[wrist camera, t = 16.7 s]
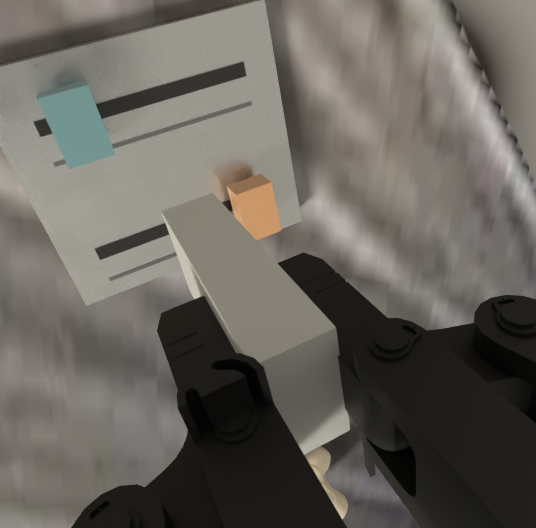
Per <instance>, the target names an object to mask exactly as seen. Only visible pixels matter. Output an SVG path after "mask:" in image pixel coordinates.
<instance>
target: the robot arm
mask: <svg viewBox="0 0 536 528" xmlns="http://www.w3.org/2000/svg"><path fill="white" fill-rule="evenodd" d="M161 213H162V215H163V218H164V221H165V224H166V226H167V229H168V232H169V235H170V237H171V240H172V243H173V246H174V248H175V251H176V254H177V257H178V259H179V262H180V265H181V268H182V270H183V273H184V276H185V279H186V281H187V284H188V287H189V290H190V292H191V294H192V295H193V297H194V300H192V301H189V302H187V303H185V304H182V305H180V306H177V307H175V308H172V309H170V310H168V311H165V312H163V313H161V317H160V321H159V325H158V329H157V332H158V335H159V337H160V340H161V343H162V346H163V348H164V352H165V354H166V357H167V360H168V362H169V366H170V368H171V371H172V374H173V377H174V380H175V383H176V385H177V388H178V393H177V403H178V409H179V412H180V414H181V416H182V418H183V420H184V422H185V424H186V426H187V429H188V433H187V437H186V440H185V443H184V445H183V448H182V449H181V451H180V452H179V454H178V455H177V457H176V459H175V460H174V461H173V462H172V463H171V464H170V465H169V466H168V467H167V468H166V469H165V470H164V471H163V472H162V473H161V474H160V475H158V476H157V477H156V478H155V479H154V480H153V481H152V482H151V483H149V484H148V485H147V486H146V487H142V486H139V485H126V486H119V487H116V488H114V489H112V490H110V491H108V492H106V493H103V494H101V495H100V496H99V497H98V498H97V499H95V500H94V501H93V502H92V503H91V504H90V505H88V506H87V507H86V508H85V509H84V510H83V512H82V513H81V515H80V516H79V517H78V519H77V520H76V522H75V523H74V525H73V526H72V527H71V528H347V527H346V525H345V523H344V522H343V520H342V518H341V516H340V515H339V513H338V511H337V510H336V508H335V506H334V505H333V503H332V501H331V499H330V498H329V496H328V494H327V493H326V491H325V489H324V488H323V486H322V484H321V482H320V481H319V479H318V477H317V476H316V474H315V472H314V471H313V469H312V467H311V466H310V464H309V462H308V460H307V459H306V457H305V454H307V453H308V452H310V451H312V450H314V449H316V448H318V447H320V446H321V445H323V444H325V443H327V442H329V441H331V440H333V439H335V438H336V437H338V436H340V435H342V434H344V433H346V432H348V431H349V430H350V425H349V417H348V413H349V415H350V416H351V417H352V419H353V420H354V421H355V423H356V424H357V425H358V427H359V428H360V429H361V431H362V439H363V448H364V457H365V465H366V468H367V470H368V473H369V475H370V477H372V476H373V475H375V464H376V466H377V467H378V469H379V470H380V471H381V473H382V474H383V476H384V477H385V478H386V480H387V481H388V482H389V484H390V485H391V487H392V488H393V489H394V491H395V492H396V493H397V495H398V496H399V498H400V499H401V500H402V502H403V503H404V505H405V506H406V507H407V509H408V510H409V511H410V513H411V514H412V516H413V517H414V518H415V520H416V521H417V522H418V524H419V525H420V527H421V528H536V299H532V298H529V297H525V296H515V295H504V296H498V297H493V298H490V299H488V300H487V301H485V302H483V303H481V304H480V305H479V307H478V308H477V310H476V311H475V316H474V323H472V324H466V325H461V326H455V327H450V328H445V329H438V330H425V329H424V328H422V327H420V326H419V325H417V324H415V323H413V322H411V321H407V320H403V319H399V318H387V317H386V316H385V315H384V314H382V313H381V312H380V311H379V310H378V309H377V308H376V307H375V306H374V305H372V304H371V303H370V302H369V301H368V300H367V299H366V298H365V297H364V296H362V295H361V294H360V293H359V292H358V291H357V290H356V289H355V288H354V287H352V286H351V285H350V284H349V283H348V282H347V283H346V281H345V279H344V278H343V277H341V276H340V275H339V274H338V273H335V270H334V269H333V268H331V267H330V266H329V265H328V264H327V263H326V262H325V261H324V260H323V259H320V258H318V257H315V256H312V255H309V254H306V253H301V254H299V255H296V256H294V257H292V258H289V259H287V260H284V261H282V262H280V263H277V262H276V261H275V260H274V259H273V258H272V257H271V256H270V255H269V254H268V253H267V251H266V250H265V249H264V248H263V247H262V246H261V245H260V244H259V243H258V242H257V241H256V239H255V238H254V237H253V236H252V235H251V234H250V233H249V232H248V231H247V230H246V229H245V227H244V226H243V225H242V224H241V223H240V222H239V221H238V220H237V219H236V218H235V217H234V216H233V214H232V213H231V212H230V211H229V210H228V209H227V208H226V207H225V206H224V205H223V204H222V202H221V201H220V200H219V199H218V198H217V197H216V196H215V195H214V194H213V193H211V194H208V195H205V196H202V197H200V198H197V199H194V200H191V201H188V202H186V203H183V204H180V205H177V206H174V207H172V208H169V209H166V210H163V211H161ZM374 463H375V464H374Z"/></svg>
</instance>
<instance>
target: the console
mask: <svg viewBox="0 0 536 528" xmlns="http://www.w3.org/2000/svg"><path fill="white" fill-rule="evenodd" d="M84 80H86V82H87V84H88V86H89V89H90V91H91V94H92V96H93V99H94V101H95V104H96V106H97V109H98V111H99V114H100V116H101V119H102V121H103V124H104V126H105V129H106V132H107V134H108V137H109V139H110V142H111V144H112V147H113V149H114V152H115V154H116V155H113V156H110V157H107V158H103V159H100V160H97V161H94V162H91V163H88V164H85V165H81V166H78V167H75V168H72V169H69V168H68V165H67V163H66V161H65V159H64V157H63V155H62V152H61V150H60V148H59V146H58V144H57V142H56V140H55V137H54V135H53V133H52V131H51V129H50V127H49V125H48V122H47V120H46V118H45V116H44V114H43V112H42V110H41V107H40V105H39V103H38V101H37V93H40V92H43V91H47V90H51V89H54V88H58V87H62V86H65V85H69V84H73V83H76V82H80V81H84ZM0 147H1V148H2V150H3V152H4V154H5V156H6V158H7V159H8V161H9V163H10V165H11V167H12V169H13V171H14V172H15V174H16V176H17V178H18V180H19V182H20V183H21V185H22V187H23V189H24V191H25V193H26V195H27V196H28V198H29V200H30V202H31V204H32V206H33V208H34V209H35V211H36V213H37V215H38V217H39V219H40V220H41V222H42V224H43V226H44V228H45V230H46V232H47V233H48V235H49V237H50V239H51V241H52V243H53V244H54V246H55V248H56V250H57V252H58V254H59V256H60V257H61V259H62V261H63V263H64V265H65V267H66V269H67V270H68V272H69V274H70V276H71V278H72V280H73V281H74V283H75V285H76V287H77V289H78V291H79V293H80V294H81V296H82V298H83V300H84V302H85V304H86V305H90V304H92V303H95V302H97V301H100V300H102V299H105V298H107V297H110V296H112V295H115V294H118V293H120V292H123V291H125V290H128V289H130V288H133V287H135V286H138V285H140V284H143V283H145V282H148V281H151V280H153V279H156V278H158V277H161V276H163V275H166V274H168V273H171V272H173V271H176V270H178V269H181V265H180V262H179V259H178V257H177V254H176V251H175V248H174V246H173V243H172V240H171V237H170V235H169V232H168V229H167V226H166V224H165V221H164V218H163V215H162V213H161V211H163V210H166V209H169V208H172V207H174V206H177V205H180V204H183V203H186V202H188V201H191V200H194V199H197V198H200V197H202V196H205V195H208V194H211V193H213V194H214V195H215V196H216V197H217V198H218V199H219V200H220V201H221V202H222V204H223V205H224V206H225V207H226V208H227V209H228V210H229V211H230V212H231V213H232V214H233V216H234V212H233V209H232V205H231V201H230V197H229V193H228V189H227V186H228V185H231V184H233V183H236V182H239V181H242V180H245V179H247V178H250V177H253V176H256V175H259V174H261V175H263V176H264V177H265V178H267V179H268V180H269V181H271V182H272V187H273V192H274V197H275V202H276V207H277V212H278V217H279V222H280V227H281V229H283V228H285V227H288V226H290V225H293V224H295V223H298V222H300V221H302V219H301V213H300V207H299V201H298V196H297V190H296V184H295V178H294V172H293V166H292V160H291V154H290V148H289V142H288V136H287V130H286V124H285V118H284V112H283V106H282V100H281V94H280V88H279V82H278V76H277V70H276V64H275V58H274V52H273V46H272V40H271V34H270V28H269V22H268V16H267V10H266V4H265V0H251V1H247V2H243V3H239V4H236V5H232V6H228V7H224V8H220V9H216V10H212V11H208V12H204V13H200V14H196V15H192V16H188V17H184V18H180V19H176V20H172V21H168V22H164V23H160V24H157V25H153V26H149V27H145V28H141V29H137V30H133V31H129V32H125V33H121V34H117V35H113V36H109V37H105V38H101V39H97V40H93V41H89V42H85V43H82V44H78V45H74V46H70V47H66V48H62V49H58V50H54V51H50V52H46V53H42V54H38V55H34V56H30V57H26V58H22V59H18V60H14V61H10V62H6V63H3V64H0ZM234 217H235V216H234Z"/></svg>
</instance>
